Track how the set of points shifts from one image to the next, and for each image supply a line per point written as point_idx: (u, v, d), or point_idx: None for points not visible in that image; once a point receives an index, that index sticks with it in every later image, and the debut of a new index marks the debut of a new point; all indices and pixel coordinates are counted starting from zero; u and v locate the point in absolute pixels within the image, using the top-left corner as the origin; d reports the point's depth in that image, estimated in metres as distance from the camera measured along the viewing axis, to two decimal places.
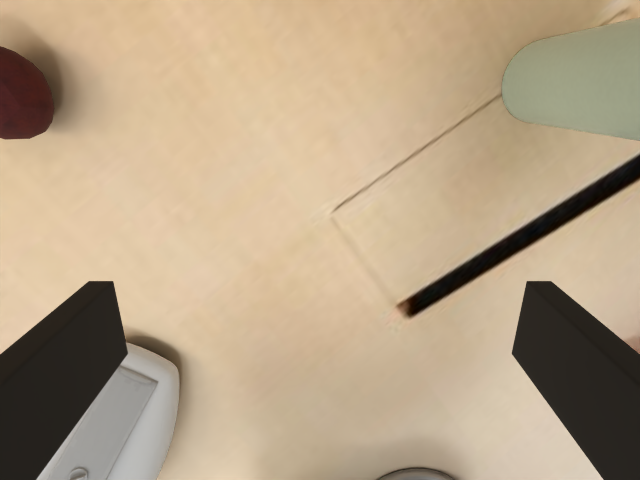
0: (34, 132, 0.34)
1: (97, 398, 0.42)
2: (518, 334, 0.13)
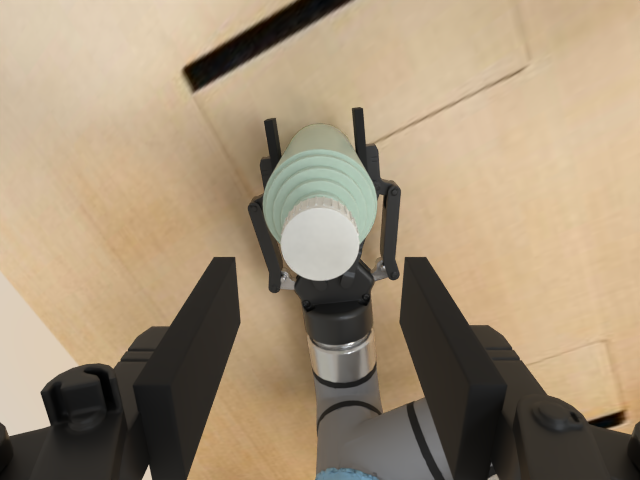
0: None
1: None
2: (402, 304, 0.14)
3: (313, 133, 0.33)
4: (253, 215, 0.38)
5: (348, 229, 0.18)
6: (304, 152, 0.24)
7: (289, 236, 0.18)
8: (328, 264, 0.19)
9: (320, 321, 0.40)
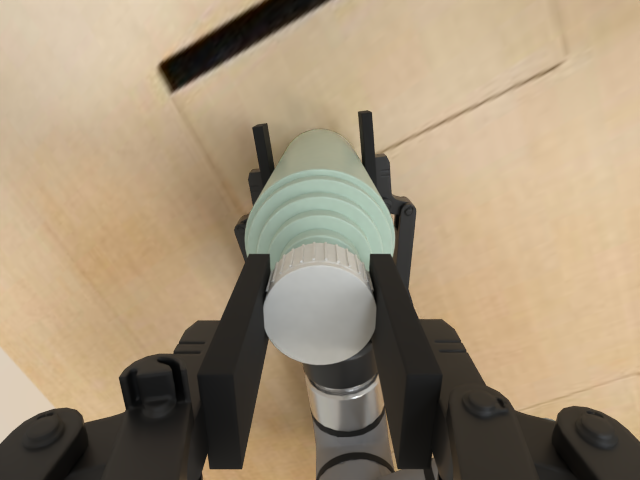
0: None
1: None
2: None
3: (312, 143, 0.27)
4: (241, 238, 0.32)
5: (361, 295, 0.12)
6: (299, 173, 0.18)
7: (274, 305, 0.13)
8: (332, 343, 0.13)
9: None
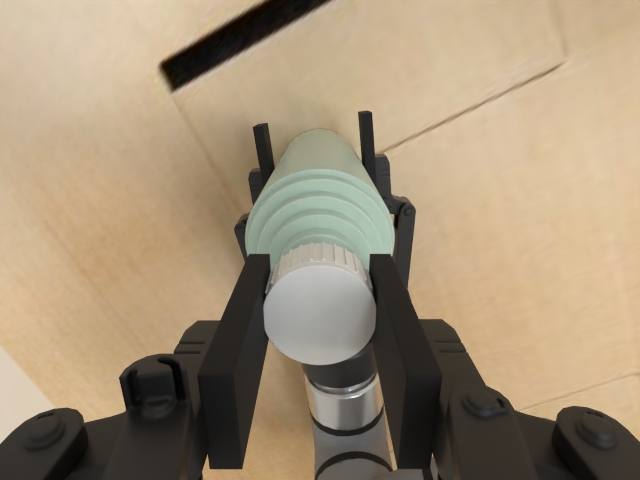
0: None
1: None
2: None
3: (312, 142, 0.27)
4: (240, 237, 0.32)
5: (288, 284, 0.12)
6: (299, 172, 0.18)
7: (312, 356, 0.13)
8: (348, 303, 0.13)
9: None
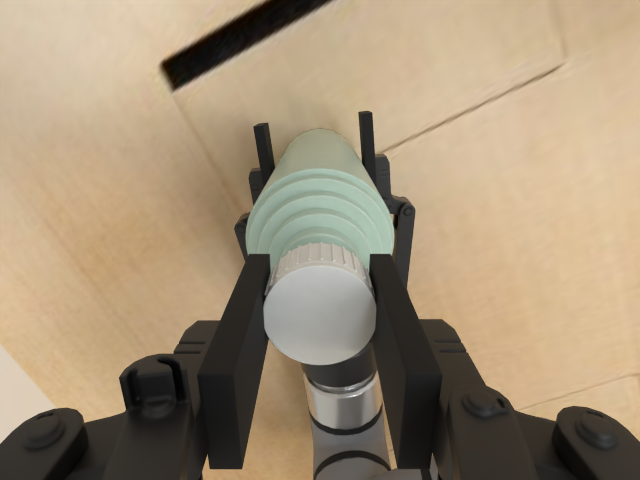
0: None
1: None
2: None
3: (312, 142, 0.27)
4: (241, 237, 0.32)
5: (288, 348, 0.13)
6: (300, 172, 0.18)
7: (366, 319, 0.13)
8: (298, 295, 0.12)
9: None
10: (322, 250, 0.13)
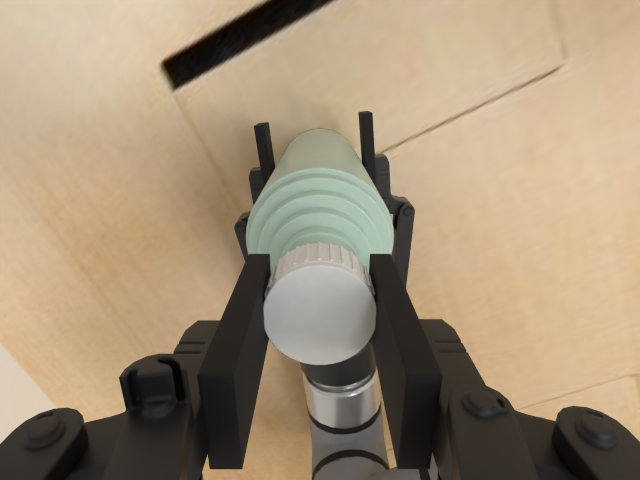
0: None
1: None
2: None
3: (312, 142, 0.27)
4: (240, 236, 0.32)
5: (358, 340, 0.13)
6: (300, 171, 0.18)
7: (314, 276, 0.12)
8: (298, 338, 0.13)
9: None
10: None
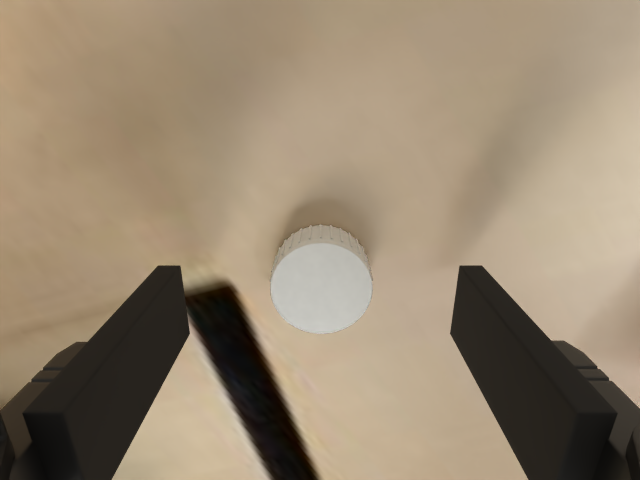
0: None
1: None
2: (454, 315, 0.14)
3: None
4: None
5: (356, 311, 0.15)
6: None
7: (316, 252, 0.14)
8: (302, 309, 0.15)
9: None
10: None
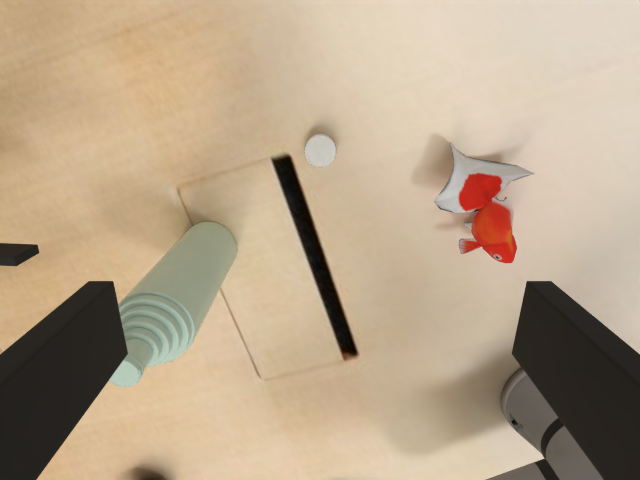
0: None
1: None
2: (518, 334, 0.13)
3: (219, 279, 0.44)
4: None
5: (331, 159, 0.47)
6: (192, 324, 0.35)
7: (318, 138, 0.46)
8: (314, 158, 0.47)
9: None
10: None
